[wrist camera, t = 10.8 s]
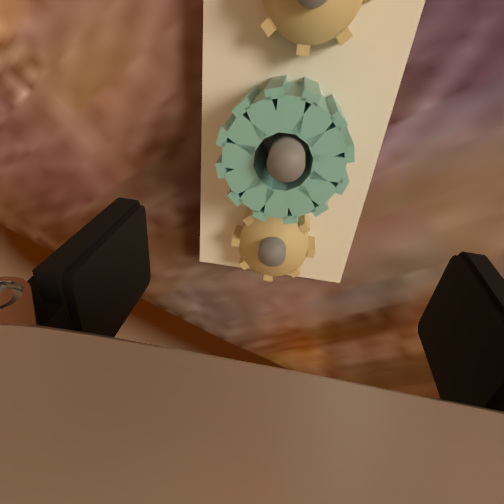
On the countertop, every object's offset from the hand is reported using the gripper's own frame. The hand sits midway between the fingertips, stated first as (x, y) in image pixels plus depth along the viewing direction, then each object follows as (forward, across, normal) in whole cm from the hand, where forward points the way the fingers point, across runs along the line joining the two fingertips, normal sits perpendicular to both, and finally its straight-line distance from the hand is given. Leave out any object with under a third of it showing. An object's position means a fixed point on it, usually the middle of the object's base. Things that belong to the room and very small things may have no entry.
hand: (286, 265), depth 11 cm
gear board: (+17, +1, 0) cm, 17 cm away
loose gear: (+15, +1, 0) cm, 15 cm away
